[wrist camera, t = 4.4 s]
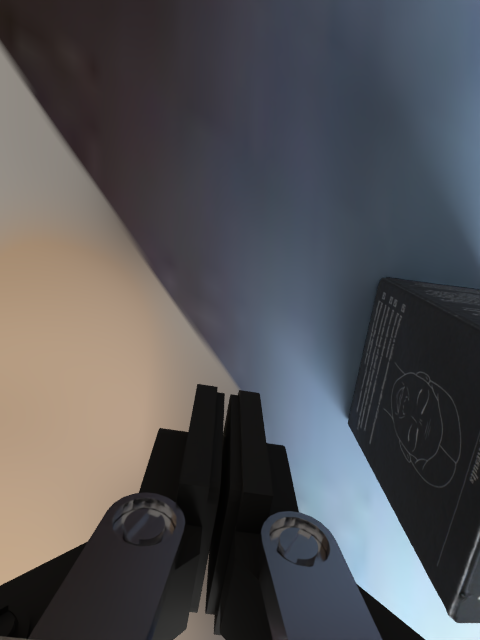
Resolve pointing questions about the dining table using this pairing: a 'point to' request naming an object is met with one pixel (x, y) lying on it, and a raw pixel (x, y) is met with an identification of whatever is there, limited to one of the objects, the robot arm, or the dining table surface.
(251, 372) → the dining table surface
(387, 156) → the dining table surface
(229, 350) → the dining table surface
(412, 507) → the box
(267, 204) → the dining table surface
